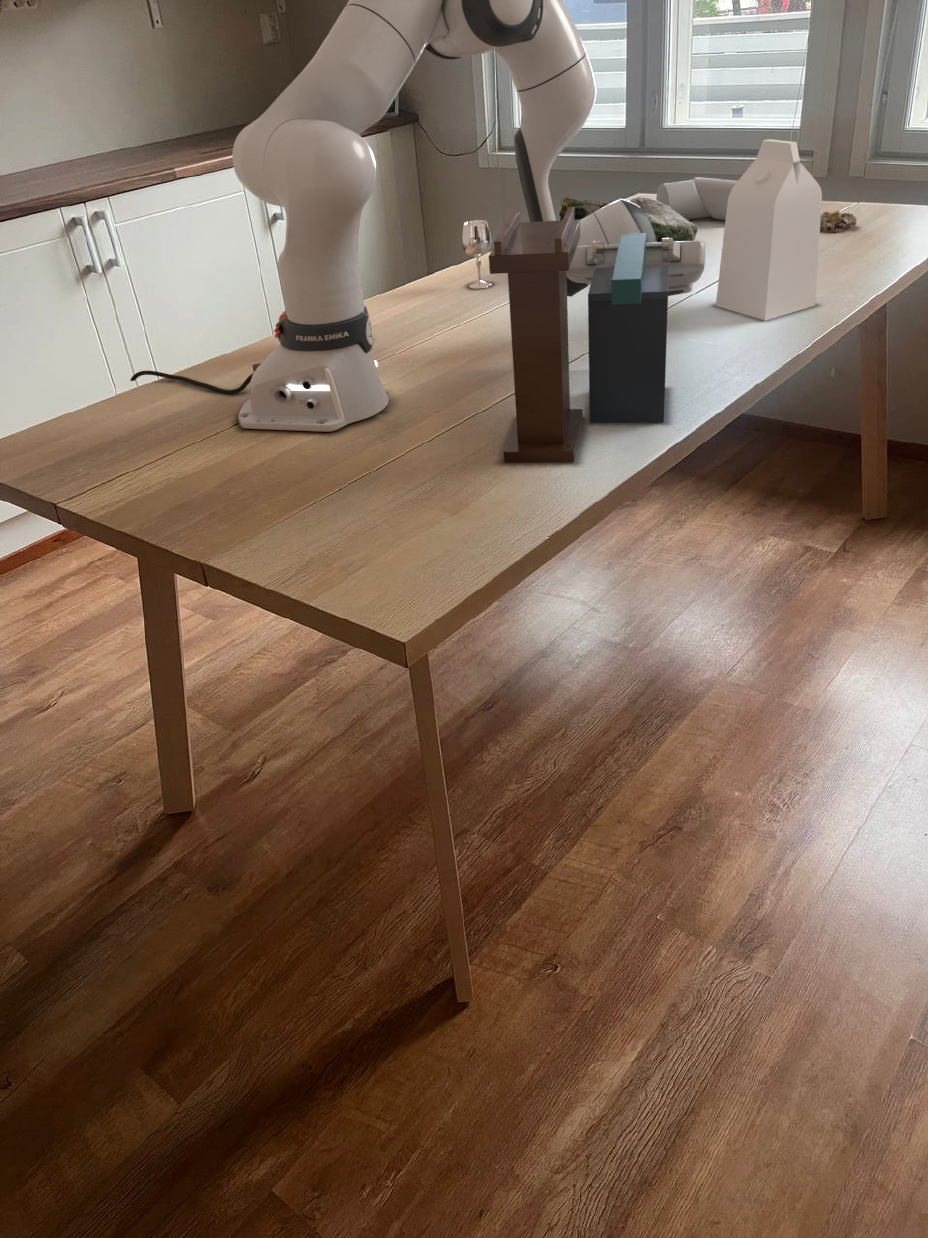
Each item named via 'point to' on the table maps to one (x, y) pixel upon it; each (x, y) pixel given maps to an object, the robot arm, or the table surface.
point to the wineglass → (477, 245)
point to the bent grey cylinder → (697, 197)
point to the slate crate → (627, 350)
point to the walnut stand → (539, 335)
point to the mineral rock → (837, 221)
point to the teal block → (629, 269)
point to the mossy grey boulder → (658, 214)
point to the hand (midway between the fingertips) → (632, 245)
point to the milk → (771, 236)
